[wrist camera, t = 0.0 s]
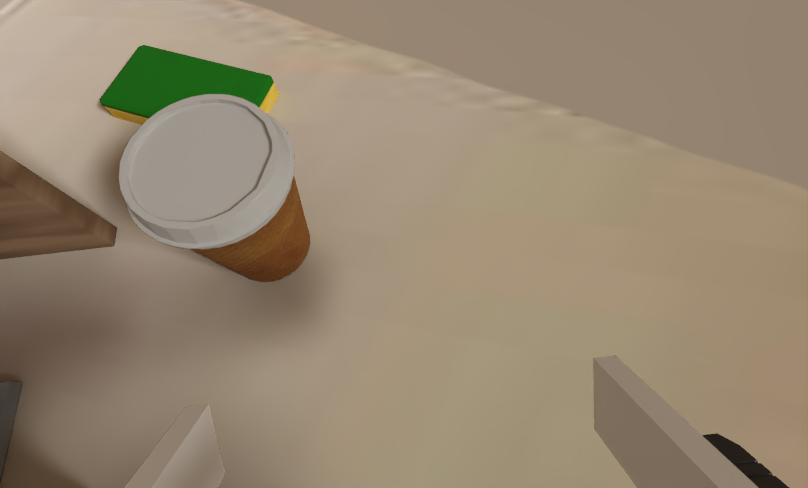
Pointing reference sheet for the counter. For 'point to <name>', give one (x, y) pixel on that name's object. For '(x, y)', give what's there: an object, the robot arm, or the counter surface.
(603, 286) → the counter surface
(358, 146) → the counter surface
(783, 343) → the counter surface
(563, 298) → the counter surface
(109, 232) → the brown l-shaped bracket
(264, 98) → the dish sponge
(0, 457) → the socket
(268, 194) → the disposable coffee cup
